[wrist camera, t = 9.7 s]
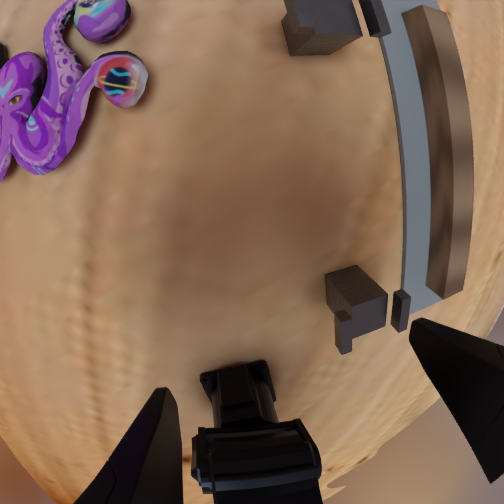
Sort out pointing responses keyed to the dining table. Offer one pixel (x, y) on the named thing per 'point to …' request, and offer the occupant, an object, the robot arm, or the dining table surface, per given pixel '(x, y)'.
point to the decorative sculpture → (63, 86)
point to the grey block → (329, 24)
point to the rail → (444, 147)
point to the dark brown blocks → (361, 306)
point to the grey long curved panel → (410, 152)
